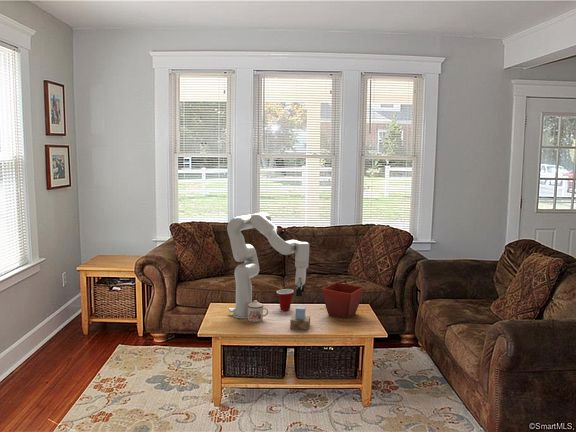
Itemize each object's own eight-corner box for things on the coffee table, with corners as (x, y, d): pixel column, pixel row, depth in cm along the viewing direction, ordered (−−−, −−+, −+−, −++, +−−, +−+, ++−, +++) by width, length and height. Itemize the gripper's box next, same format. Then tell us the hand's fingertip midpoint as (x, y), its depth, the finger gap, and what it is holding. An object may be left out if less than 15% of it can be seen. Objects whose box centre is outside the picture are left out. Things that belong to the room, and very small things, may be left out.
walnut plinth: (290, 328, 300) (290, 320, 299) (292, 323, 310) (292, 314, 309) (307, 330, 298) (308, 321, 298) (309, 324, 308) (310, 316, 308)
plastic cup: (275, 307, 342) (275, 288, 341) (292, 306, 343) (292, 288, 342) (276, 311, 331) (277, 292, 330) (294, 311, 333) (294, 292, 331)
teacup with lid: (247, 322, 310) (247, 302, 309) (248, 317, 319) (248, 298, 318) (267, 322, 310) (268, 302, 309) (268, 317, 319) (268, 298, 318)
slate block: (295, 319, 301) (295, 308, 301) (296, 316, 306) (296, 306, 306) (304, 319, 301) (304, 309, 300) (305, 317, 306) (305, 306, 305)
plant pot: (349, 321, 316) (350, 293, 314) (320, 315, 326) (321, 288, 324) (362, 313, 332) (363, 287, 330) (335, 308, 342) (335, 282, 340)
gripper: (297, 260, 309) (295, 289, 311) (292, 266, 292) (291, 297, 294) (310, 261, 308) (308, 290, 310) (306, 267, 291) (304, 298, 293)
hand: (300, 293), depth 302 cm, fingers open, 9 cm apart
